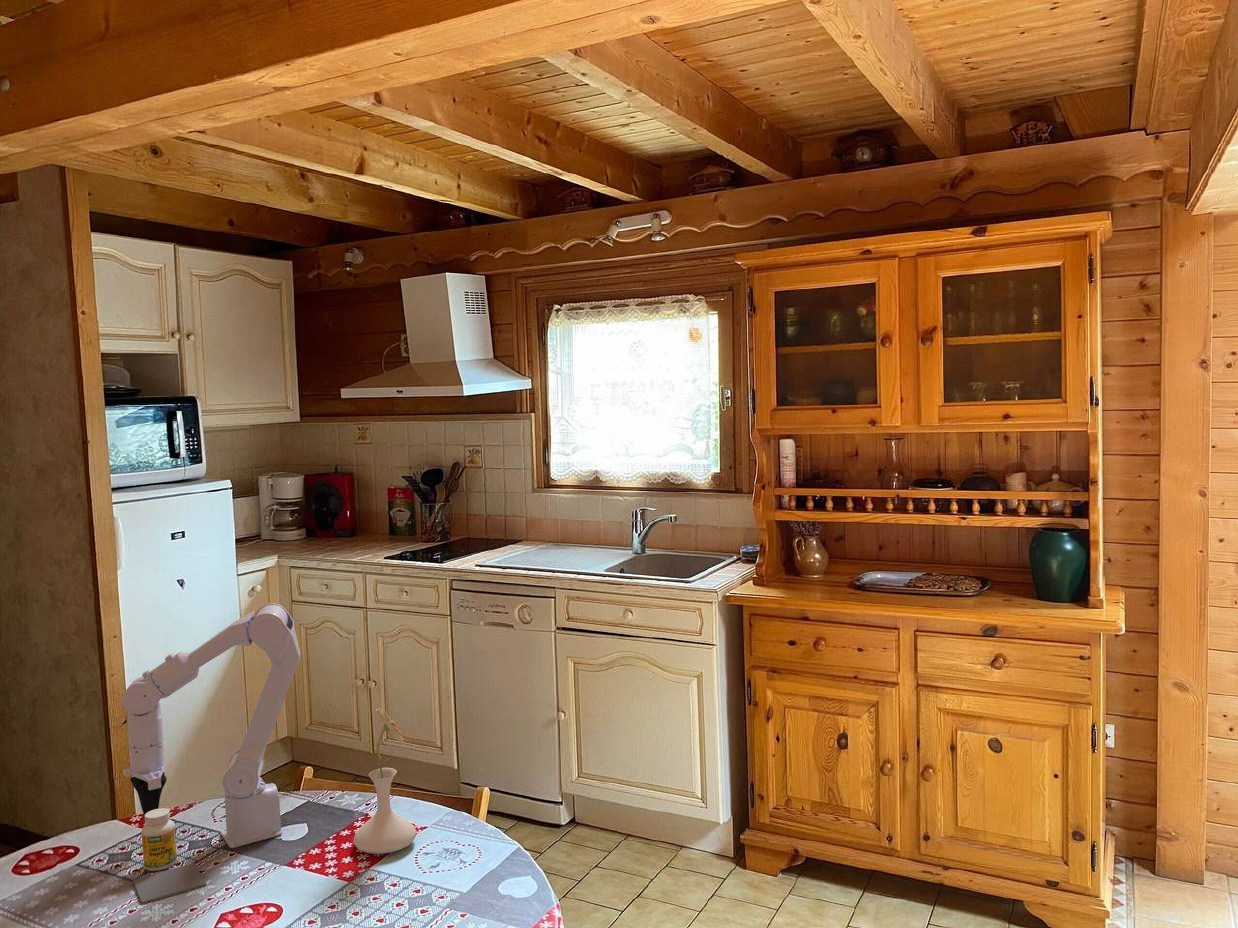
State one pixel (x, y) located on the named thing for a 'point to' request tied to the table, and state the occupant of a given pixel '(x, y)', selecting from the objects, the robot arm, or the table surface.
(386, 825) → the flower in vase
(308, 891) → the table surface
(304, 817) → the table surface
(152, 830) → the supplement bottle
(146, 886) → the mat
